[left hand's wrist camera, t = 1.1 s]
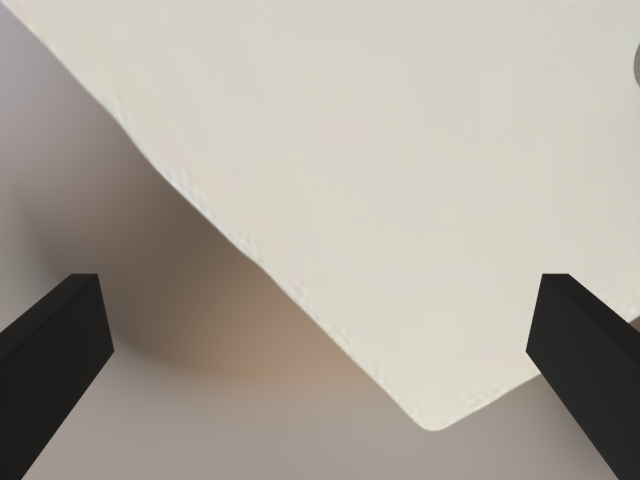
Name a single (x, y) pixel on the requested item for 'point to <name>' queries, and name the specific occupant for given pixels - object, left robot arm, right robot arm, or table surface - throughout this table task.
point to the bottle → (637, 65)
